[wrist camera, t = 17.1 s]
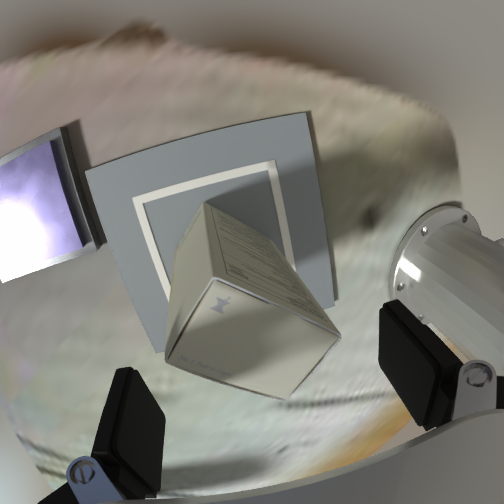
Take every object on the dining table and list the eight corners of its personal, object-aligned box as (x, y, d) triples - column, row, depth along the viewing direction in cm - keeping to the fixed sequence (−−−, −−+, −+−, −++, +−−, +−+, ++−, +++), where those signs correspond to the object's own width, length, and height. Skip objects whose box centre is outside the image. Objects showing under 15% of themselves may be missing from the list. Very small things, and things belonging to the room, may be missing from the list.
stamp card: (302, 112, 21) (305, 112, 20) (332, 302, 27) (335, 306, 26) (87, 170, 20) (84, 171, 19) (156, 348, 26) (155, 353, 25)
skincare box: (174, 250, 22) (154, 362, 11) (204, 197, 21) (208, 271, 10) (247, 287, 24) (284, 406, 13) (278, 240, 23) (346, 337, 12)
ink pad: (66, 127, 18) (55, 127, 16) (101, 245, 22) (94, 254, 20) (-26, 177, 18) (-38, 181, 16) (9, 276, 21) (-1, 285, 19)
